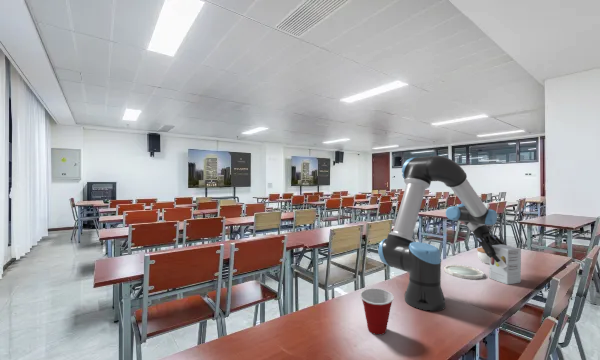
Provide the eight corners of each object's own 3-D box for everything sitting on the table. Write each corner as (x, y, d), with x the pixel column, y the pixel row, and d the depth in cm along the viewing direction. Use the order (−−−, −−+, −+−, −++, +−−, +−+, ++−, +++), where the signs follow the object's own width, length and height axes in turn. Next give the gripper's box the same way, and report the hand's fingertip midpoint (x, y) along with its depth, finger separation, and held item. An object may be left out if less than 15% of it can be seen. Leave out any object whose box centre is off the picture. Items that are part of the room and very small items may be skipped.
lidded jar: (498, 266, 158) (498, 250, 158) (476, 263, 165) (476, 247, 165) (498, 262, 167) (498, 246, 167) (477, 259, 173) (477, 244, 173)
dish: (463, 280, 136) (464, 277, 136) (436, 269, 153) (436, 266, 153) (492, 277, 141) (492, 274, 141) (462, 266, 158) (462, 263, 158)
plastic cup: (353, 330, 91) (353, 294, 91) (370, 318, 99) (370, 285, 99) (383, 344, 84) (383, 304, 84) (399, 330, 91) (399, 294, 91)
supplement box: (488, 278, 140) (488, 245, 140) (501, 276, 143) (501, 243, 143) (507, 285, 131) (508, 249, 131) (521, 282, 134) (521, 248, 134)
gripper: (486, 231, 155) (518, 266, 141) (460, 234, 146) (491, 273, 131) (496, 223, 151) (530, 259, 136) (470, 225, 141) (504, 265, 127)
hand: (511, 266), depth 134 cm, fingers closed on supplement box, 10 cm apart
